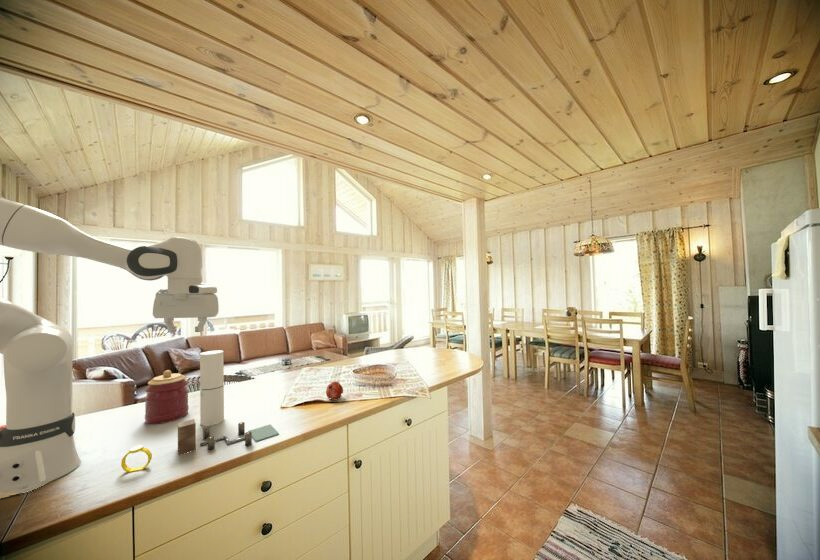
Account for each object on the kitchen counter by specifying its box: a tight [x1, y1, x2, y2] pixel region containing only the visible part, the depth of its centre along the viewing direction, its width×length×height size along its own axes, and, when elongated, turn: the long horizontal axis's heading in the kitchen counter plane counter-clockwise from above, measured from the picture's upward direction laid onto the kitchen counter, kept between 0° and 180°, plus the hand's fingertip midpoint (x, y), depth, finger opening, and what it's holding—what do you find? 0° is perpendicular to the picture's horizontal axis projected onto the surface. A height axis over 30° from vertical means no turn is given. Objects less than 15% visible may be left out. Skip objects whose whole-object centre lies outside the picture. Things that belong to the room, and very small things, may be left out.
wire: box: [199, 435, 245, 447], centre depth 95 cm, size 13×6×1 cm, turn 131°
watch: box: [120, 444, 153, 473], centre depth 80 cm, size 6×3×6 cm, turn 112°
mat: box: [247, 424, 280, 443], centre depth 99 cm, size 7×9×1 cm
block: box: [177, 418, 197, 456], centre depth 90 cm, size 4×4×8 cm
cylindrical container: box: [199, 349, 225, 427], centre depth 110 cm, size 7×7×25 cm
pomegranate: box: [325, 381, 344, 400], centre depth 130 cm, size 7×7×10 cm
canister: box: [144, 369, 190, 425], centre depth 114 cm, size 13×13×18 cm
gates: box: [202, 421, 253, 451], centre depth 95 cm, size 11×16×4 cm
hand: (185, 332), depth 96 cm, fingers open, 8 cm apart
